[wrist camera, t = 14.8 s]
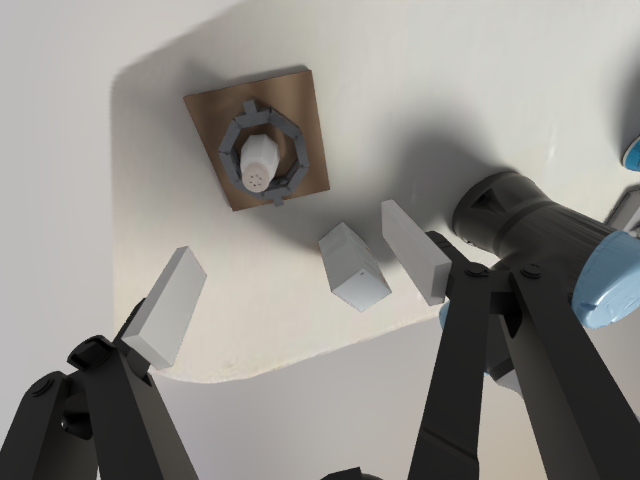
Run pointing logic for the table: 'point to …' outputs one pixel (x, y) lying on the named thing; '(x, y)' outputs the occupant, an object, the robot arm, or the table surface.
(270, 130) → the collar base
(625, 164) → the beverage bottle
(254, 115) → the collar frame
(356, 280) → the small box
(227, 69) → the table surface
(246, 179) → the pepper shaker
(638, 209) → the parts tray
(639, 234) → the pipe fitting
